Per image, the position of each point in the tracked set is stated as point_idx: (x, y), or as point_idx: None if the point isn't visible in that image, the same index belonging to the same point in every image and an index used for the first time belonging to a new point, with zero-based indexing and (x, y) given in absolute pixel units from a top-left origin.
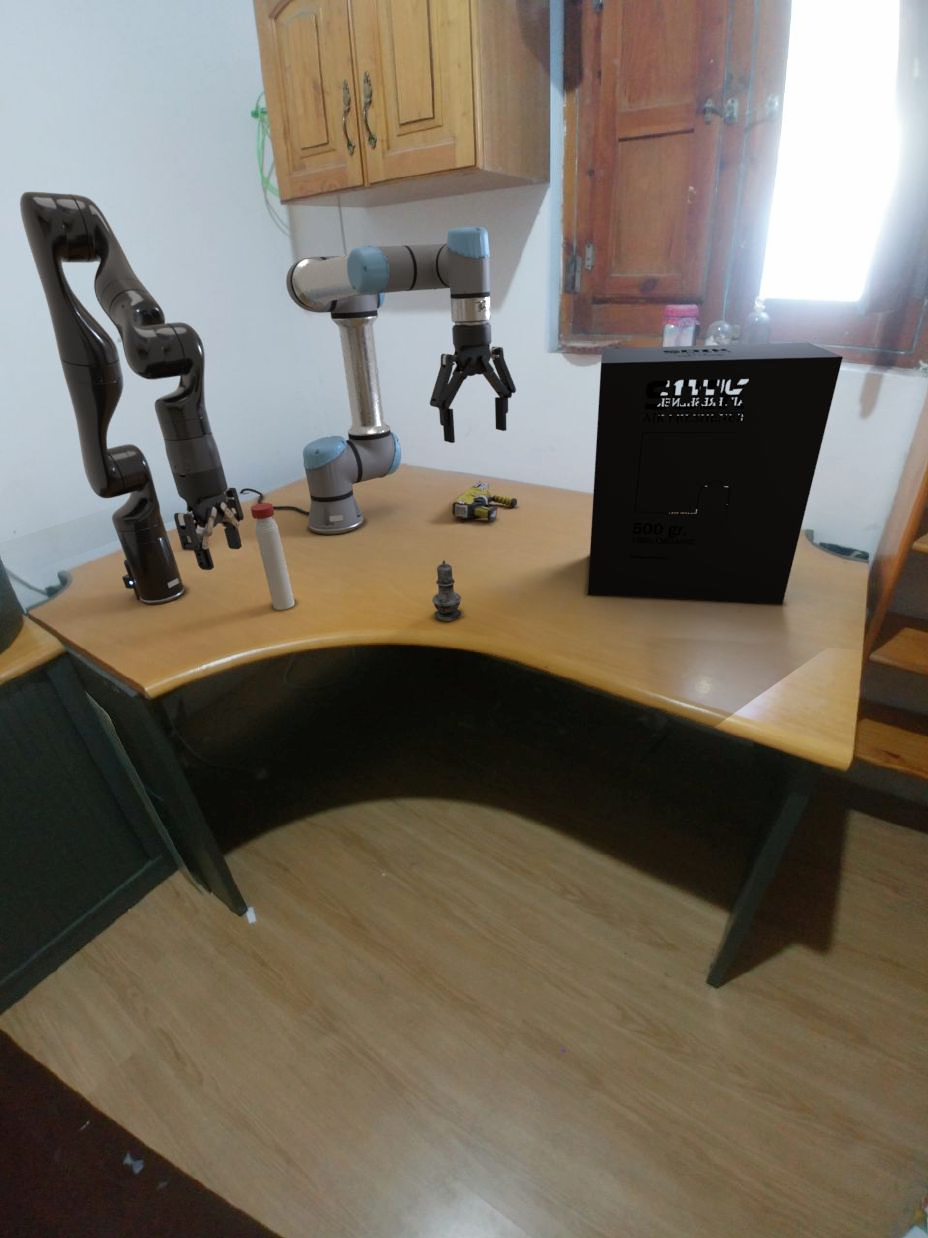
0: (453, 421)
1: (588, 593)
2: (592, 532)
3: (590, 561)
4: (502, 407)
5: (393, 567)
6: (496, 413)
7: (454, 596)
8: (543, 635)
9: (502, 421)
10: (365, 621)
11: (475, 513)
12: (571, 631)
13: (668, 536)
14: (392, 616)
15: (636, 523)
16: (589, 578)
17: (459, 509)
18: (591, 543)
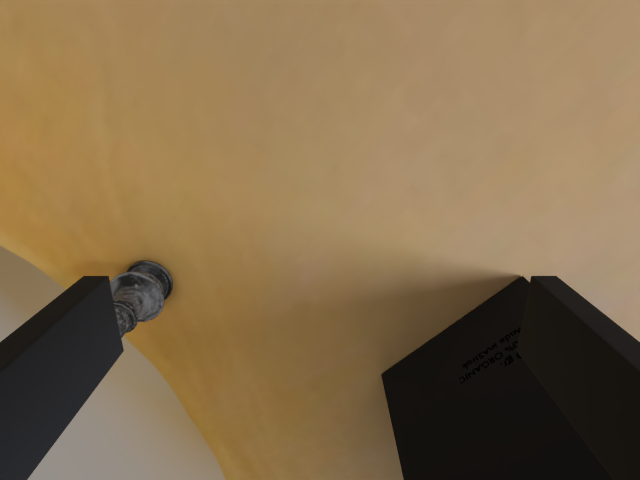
0: (40, 460)
1: (382, 376)
2: (404, 476)
3: (392, 423)
4: (620, 474)
5: (143, 4)
6: (599, 352)
7: (143, 314)
8: (241, 408)
9: (550, 380)
10: (4, 203)
11: None
12: (280, 423)
13: None
14: (58, 220)
15: None
16: (386, 397)
17: None
18: (399, 454)
